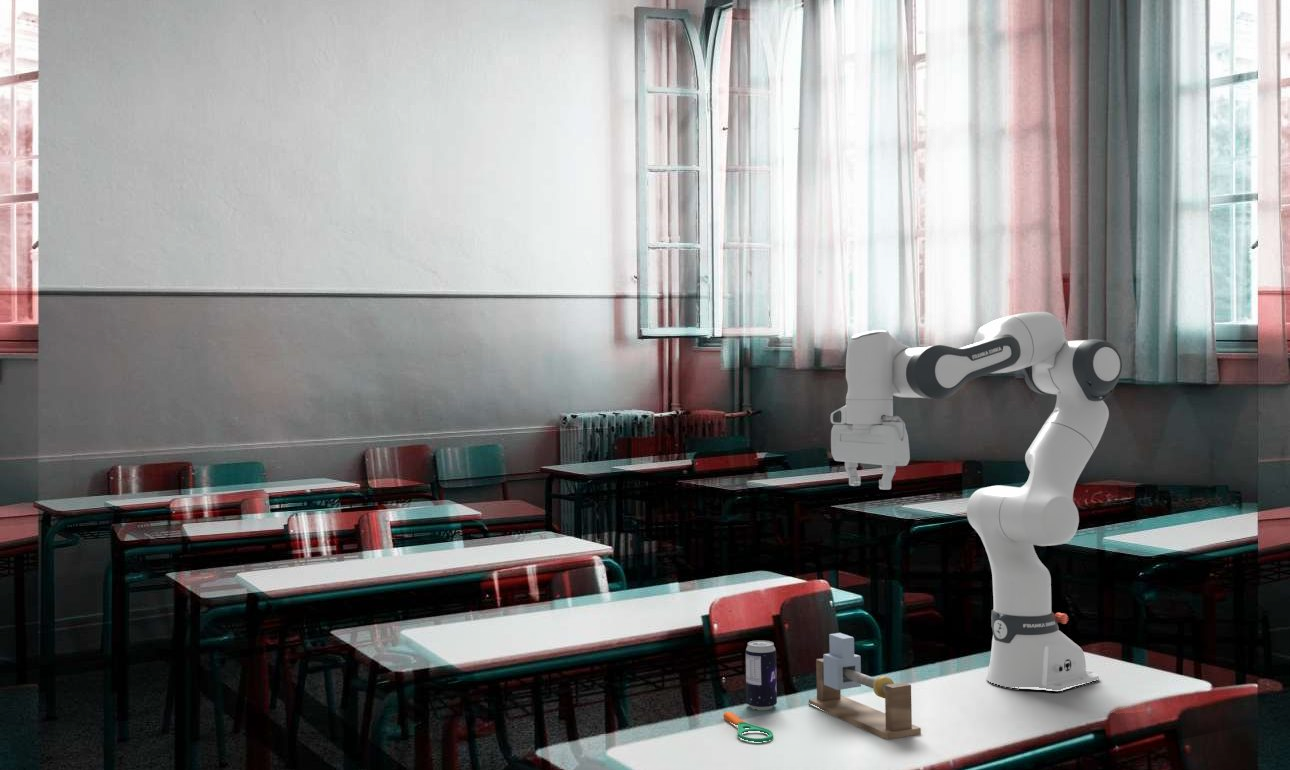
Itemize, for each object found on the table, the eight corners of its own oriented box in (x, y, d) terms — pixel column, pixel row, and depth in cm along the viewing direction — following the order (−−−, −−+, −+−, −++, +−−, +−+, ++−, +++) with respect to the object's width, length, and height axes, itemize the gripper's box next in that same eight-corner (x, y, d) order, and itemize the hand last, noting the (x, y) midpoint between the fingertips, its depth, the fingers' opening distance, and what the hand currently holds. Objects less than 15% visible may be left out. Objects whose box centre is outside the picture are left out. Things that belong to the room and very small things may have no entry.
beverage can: (775, 712, 211) (774, 647, 211) (744, 710, 212) (743, 646, 212) (778, 703, 216) (777, 640, 216) (748, 702, 217) (747, 639, 217)
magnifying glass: (779, 743, 194) (779, 733, 194) (747, 747, 192) (747, 737, 192) (743, 719, 208) (743, 710, 208) (712, 722, 206) (712, 713, 206)
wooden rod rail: (808, 704, 215) (807, 657, 215) (839, 699, 218) (838, 652, 218) (887, 739, 193) (886, 686, 193) (920, 733, 196) (919, 681, 196)
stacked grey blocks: (823, 684, 212) (823, 635, 212) (847, 680, 214) (846, 632, 214) (837, 690, 208) (836, 639, 208) (861, 686, 210) (860, 636, 210)
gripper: (917, 415, 210) (918, 491, 210) (851, 414, 228) (851, 483, 228) (890, 416, 207) (890, 492, 207) (825, 414, 225) (825, 484, 225)
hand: (869, 487), depth 218 cm, fingers open, 8 cm apart
